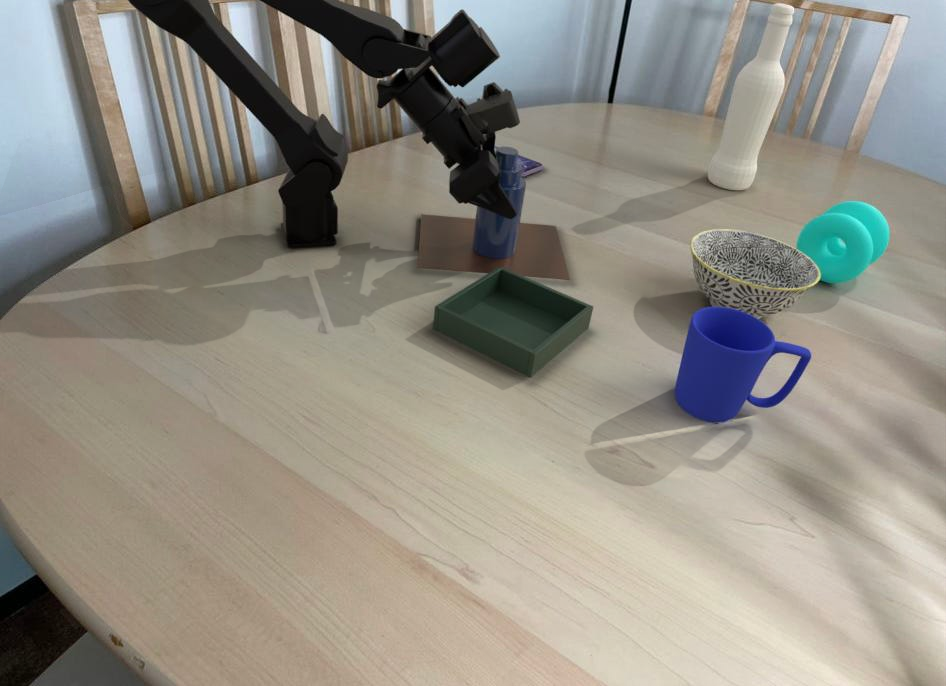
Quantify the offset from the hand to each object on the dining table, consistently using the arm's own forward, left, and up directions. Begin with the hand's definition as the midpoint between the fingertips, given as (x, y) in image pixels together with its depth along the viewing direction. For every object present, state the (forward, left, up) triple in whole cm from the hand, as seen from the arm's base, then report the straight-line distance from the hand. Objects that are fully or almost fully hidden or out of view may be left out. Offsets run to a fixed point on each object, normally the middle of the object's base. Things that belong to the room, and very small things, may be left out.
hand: (511, 201), depth 98 cm
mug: (+11, -37, -8) cm, 39 cm away
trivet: (-1, +1, -8) cm, 8 cm away
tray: (-6, -19, -8) cm, 21 cm away
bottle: (+52, +19, -8) cm, 56 cm away
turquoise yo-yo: (+47, -13, -8) cm, 49 cm away
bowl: (+26, -19, -8) cm, 33 cm away
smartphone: (+12, +32, -8) cm, 35 cm away
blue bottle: (-1, 0, -7) cm, 7 cm away
